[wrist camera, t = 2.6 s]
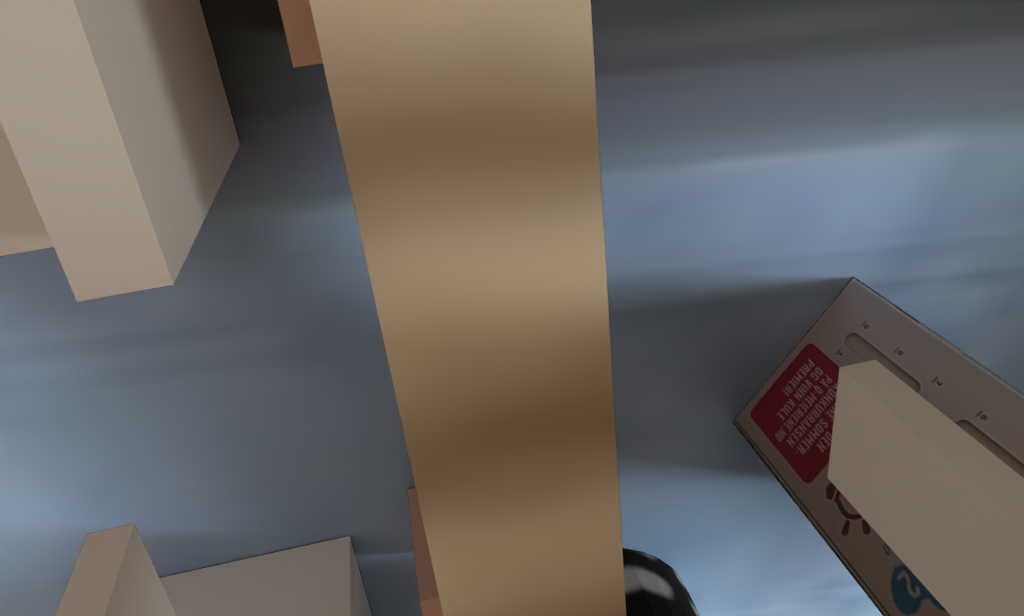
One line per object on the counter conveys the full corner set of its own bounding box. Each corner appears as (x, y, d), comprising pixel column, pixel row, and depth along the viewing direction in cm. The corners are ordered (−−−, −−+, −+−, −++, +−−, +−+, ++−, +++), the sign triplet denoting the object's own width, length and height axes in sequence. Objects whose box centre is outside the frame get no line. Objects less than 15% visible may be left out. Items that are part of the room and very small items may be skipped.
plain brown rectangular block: (275, -98, 18) (253, -105, 14) (522, -127, 19) (576, -143, 14) (421, 552, 28) (435, 670, 23) (580, 516, 29) (623, 624, 24)
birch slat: (301, -79, 14) (291, -80, 11) (540, -108, 15) (583, -116, 12) (457, 653, 23) (471, 747, 21) (599, 618, 24) (631, 705, 21)
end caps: (-302, -84, 16) (-922, -94, 8) (161, -136, 17) (7, -188, 9) (132, 720, 29) (51, 1022, 21) (384, 659, 30) (398, 923, 22)
